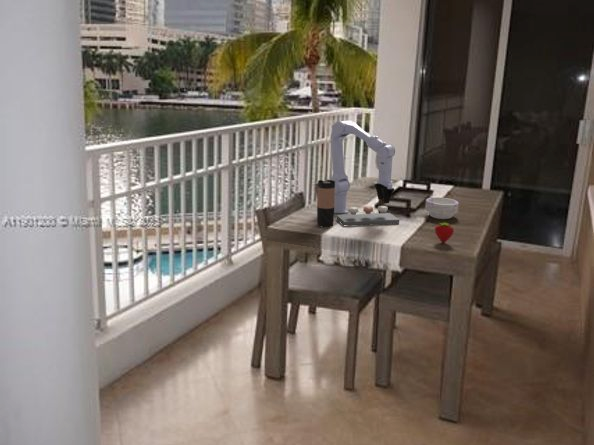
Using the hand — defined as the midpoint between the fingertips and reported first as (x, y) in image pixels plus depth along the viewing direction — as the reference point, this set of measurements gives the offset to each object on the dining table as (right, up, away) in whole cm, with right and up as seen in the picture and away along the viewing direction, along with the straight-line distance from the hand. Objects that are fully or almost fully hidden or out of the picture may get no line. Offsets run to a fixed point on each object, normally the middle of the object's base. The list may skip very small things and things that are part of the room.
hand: (383, 201), depth 267 cm
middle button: (-7, -6, 0) cm, 9 cm away
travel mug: (-27, -11, -6) cm, 30 cm away
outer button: (0, -5, +1) cm, 6 cm away
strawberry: (+20, -18, -29) cm, 40 cm away
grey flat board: (-7, -9, +1) cm, 12 cm away
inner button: (-14, -6, -2) cm, 15 cm away
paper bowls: (+29, -7, +12) cm, 32 cm away
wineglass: (+11, +13, +83) cm, 85 cm away
